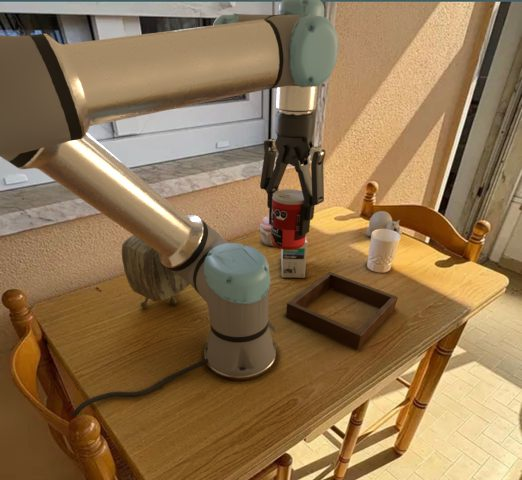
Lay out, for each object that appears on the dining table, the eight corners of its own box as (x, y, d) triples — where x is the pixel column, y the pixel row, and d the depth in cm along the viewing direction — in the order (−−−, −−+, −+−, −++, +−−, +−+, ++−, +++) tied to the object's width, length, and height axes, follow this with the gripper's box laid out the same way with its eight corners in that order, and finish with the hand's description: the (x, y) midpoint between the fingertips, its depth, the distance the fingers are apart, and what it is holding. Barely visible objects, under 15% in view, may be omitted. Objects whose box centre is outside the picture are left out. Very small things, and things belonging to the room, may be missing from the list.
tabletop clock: (175, 283, 104) (160, 189, 87) (200, 294, 100) (189, 198, 83) (134, 308, 95) (108, 209, 78) (159, 321, 91) (138, 219, 74)
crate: (357, 349, 84) (360, 335, 81) (286, 316, 93) (286, 303, 90) (394, 310, 95) (397, 296, 93) (327, 284, 104) (329, 271, 102)
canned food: (269, 236, 91) (270, 189, 84) (302, 235, 92) (306, 188, 84) (272, 251, 85) (274, 201, 78) (307, 250, 86) (312, 201, 79)
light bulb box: (305, 278, 106) (308, 242, 99) (281, 278, 106) (282, 242, 99) (302, 260, 114) (305, 225, 107) (280, 259, 115) (282, 225, 107)
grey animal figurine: (390, 249, 120) (396, 223, 115) (361, 235, 128) (366, 210, 122) (404, 243, 124) (411, 217, 118) (376, 230, 131) (381, 205, 125)
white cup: (398, 269, 111) (407, 236, 104) (379, 276, 108) (387, 243, 101) (377, 258, 116) (385, 226, 109) (359, 265, 112) (365, 233, 106)
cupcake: (253, 245, 121) (253, 215, 115) (264, 234, 128) (264, 204, 121) (281, 251, 119) (282, 219, 112) (290, 238, 125) (292, 208, 119)
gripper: (354, 115, 68) (336, 236, 83) (266, 101, 78) (264, 211, 93) (331, 121, 64) (317, 247, 79) (241, 106, 74) (243, 220, 89)
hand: (288, 227), depth 86 cm, fingers closed on canned food, 8 cm apart
